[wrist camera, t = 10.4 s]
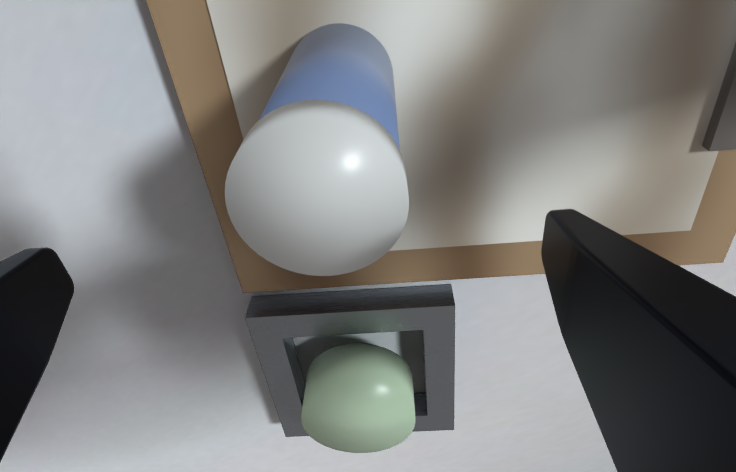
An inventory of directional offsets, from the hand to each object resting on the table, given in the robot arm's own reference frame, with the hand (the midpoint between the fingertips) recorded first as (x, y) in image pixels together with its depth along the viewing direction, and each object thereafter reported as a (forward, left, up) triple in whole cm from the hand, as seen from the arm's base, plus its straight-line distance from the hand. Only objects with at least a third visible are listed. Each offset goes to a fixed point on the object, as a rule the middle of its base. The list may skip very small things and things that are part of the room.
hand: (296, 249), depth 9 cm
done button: (+1, +16, -9) cm, 19 cm away
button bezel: (+1, +16, -11) cm, 19 cm away
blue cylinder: (0, 0, -10) cm, 10 cm away
